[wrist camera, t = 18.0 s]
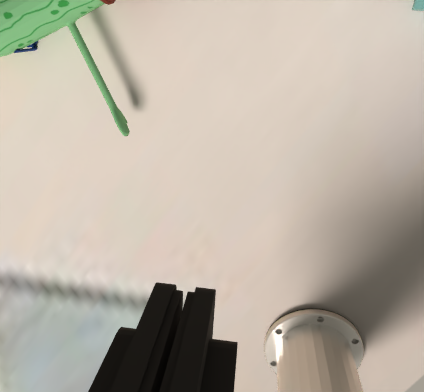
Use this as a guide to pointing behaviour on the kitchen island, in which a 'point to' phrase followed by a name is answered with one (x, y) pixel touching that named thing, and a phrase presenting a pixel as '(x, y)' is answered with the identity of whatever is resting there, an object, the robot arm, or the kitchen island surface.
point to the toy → (46, 24)
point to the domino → (418, 5)
